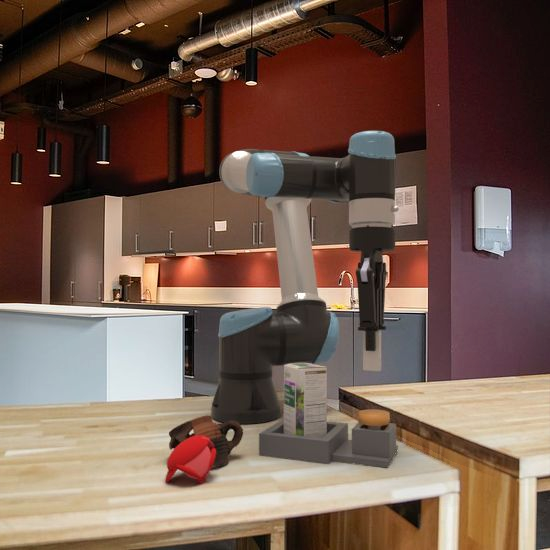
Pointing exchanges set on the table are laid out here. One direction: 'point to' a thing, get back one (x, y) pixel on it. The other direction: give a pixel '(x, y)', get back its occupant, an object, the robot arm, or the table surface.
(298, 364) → the syrup box
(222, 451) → the pottery mug
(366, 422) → the plunger
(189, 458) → the cap
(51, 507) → the table surface
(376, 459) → the grey rectangular open-box piece
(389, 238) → the robot arm
